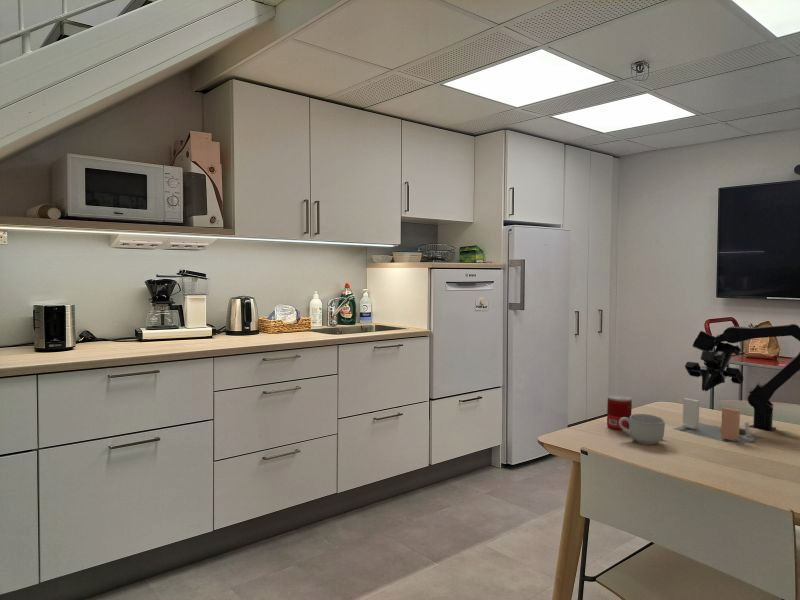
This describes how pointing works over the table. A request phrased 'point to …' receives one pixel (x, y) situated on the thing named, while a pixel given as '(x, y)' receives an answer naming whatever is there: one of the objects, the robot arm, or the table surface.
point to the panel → (716, 433)
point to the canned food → (618, 411)
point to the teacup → (644, 428)
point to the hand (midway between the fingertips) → (703, 390)
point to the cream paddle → (690, 413)
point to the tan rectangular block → (730, 424)
